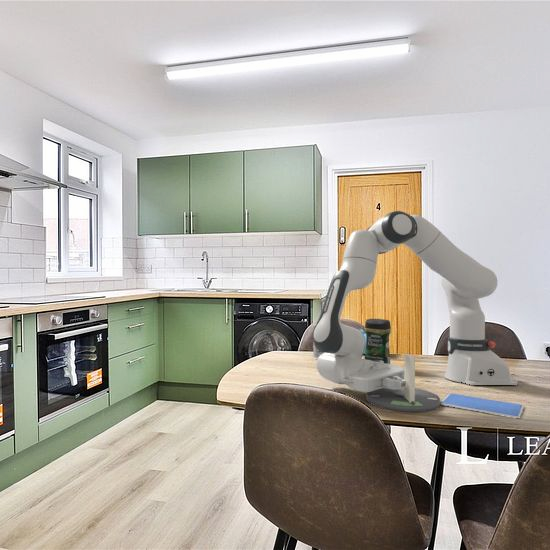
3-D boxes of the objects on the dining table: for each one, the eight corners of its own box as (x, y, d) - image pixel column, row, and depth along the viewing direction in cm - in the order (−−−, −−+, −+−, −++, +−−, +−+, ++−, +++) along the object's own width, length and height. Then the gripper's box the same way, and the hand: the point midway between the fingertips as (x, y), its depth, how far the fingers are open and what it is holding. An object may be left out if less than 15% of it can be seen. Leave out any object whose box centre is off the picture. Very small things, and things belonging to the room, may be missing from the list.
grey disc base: (432, 392, 132) (432, 387, 132) (447, 414, 112) (447, 408, 112) (365, 389, 135) (365, 384, 135) (368, 409, 115) (368, 403, 115)
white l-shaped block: (392, 391, 126) (392, 350, 126) (407, 391, 126) (408, 350, 126) (405, 404, 114) (406, 358, 114) (422, 404, 114) (422, 358, 114)
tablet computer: (524, 409, 119) (524, 404, 119) (519, 421, 108) (519, 416, 108) (450, 397, 130) (450, 392, 130) (439, 407, 119) (439, 402, 119)
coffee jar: (361, 366, 167) (361, 318, 167) (369, 363, 174) (369, 317, 173) (385, 370, 162) (386, 320, 161) (393, 366, 168) (393, 318, 168)
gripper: (338, 368, 121) (380, 378, 110) (382, 359, 134) (423, 367, 124) (338, 391, 121) (380, 403, 110) (382, 379, 134) (423, 389, 124)
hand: (403, 384), depth 117 cm, fingers closed
